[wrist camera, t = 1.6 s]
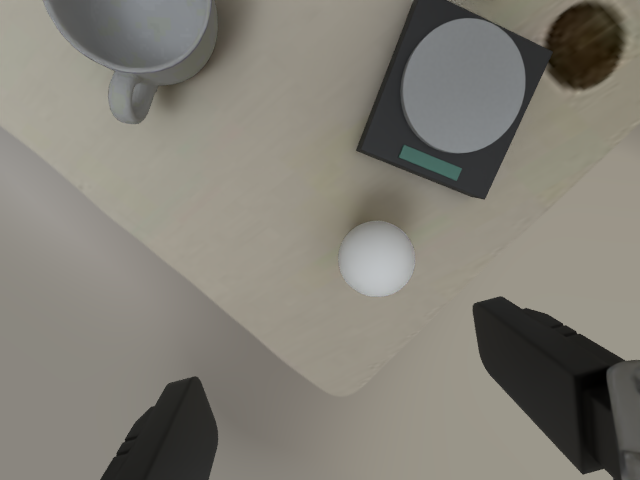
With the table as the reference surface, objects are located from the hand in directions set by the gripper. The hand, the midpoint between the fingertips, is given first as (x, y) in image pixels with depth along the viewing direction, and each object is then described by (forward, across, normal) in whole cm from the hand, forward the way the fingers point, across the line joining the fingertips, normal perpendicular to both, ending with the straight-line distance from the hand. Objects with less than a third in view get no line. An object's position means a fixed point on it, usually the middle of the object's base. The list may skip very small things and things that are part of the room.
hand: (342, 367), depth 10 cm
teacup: (+26, +9, -18) cm, 33 cm away
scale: (+26, -16, -8) cm, 31 cm away
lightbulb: (+26, -5, +3) cm, 27 cm away
